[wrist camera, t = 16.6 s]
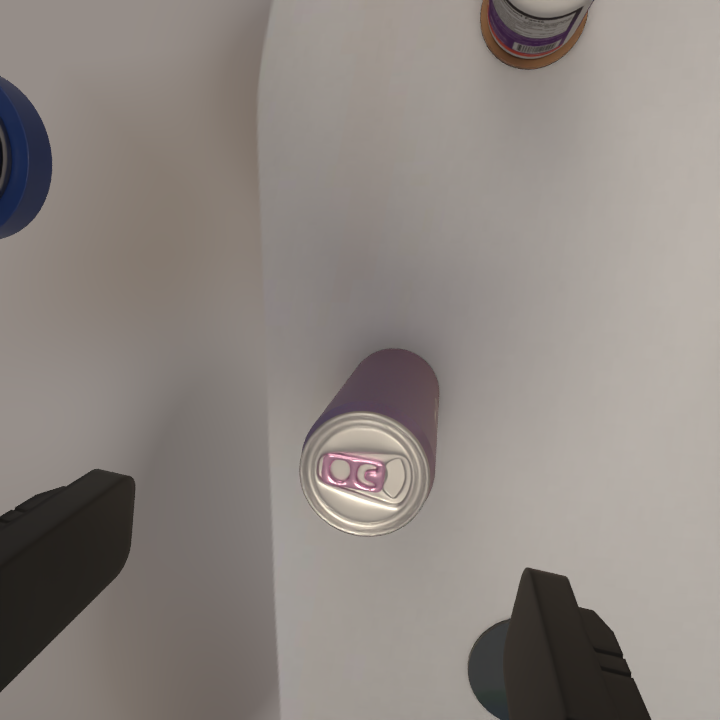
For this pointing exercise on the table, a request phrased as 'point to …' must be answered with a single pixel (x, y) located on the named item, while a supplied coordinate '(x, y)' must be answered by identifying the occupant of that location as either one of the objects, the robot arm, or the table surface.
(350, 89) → the table surface
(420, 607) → the table surface
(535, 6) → the pill bottle
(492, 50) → the cork coaster
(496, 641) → the slate coaster
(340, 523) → the beverage can
